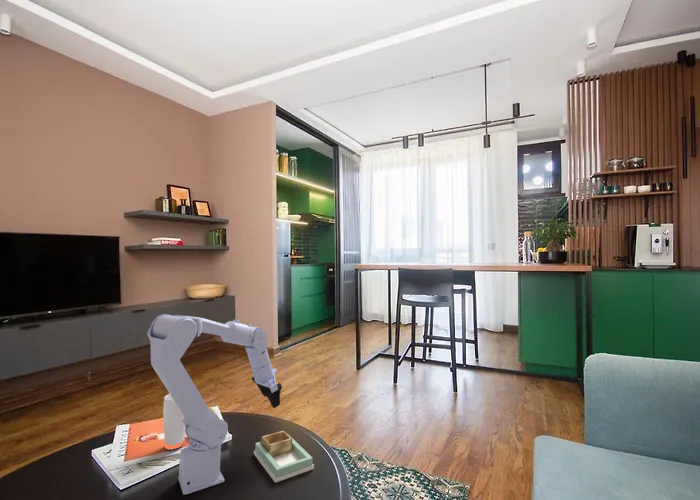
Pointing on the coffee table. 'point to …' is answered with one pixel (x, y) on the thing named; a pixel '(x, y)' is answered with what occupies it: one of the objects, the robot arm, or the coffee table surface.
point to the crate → (277, 443)
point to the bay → (284, 462)
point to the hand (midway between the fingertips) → (271, 400)
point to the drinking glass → (172, 422)
